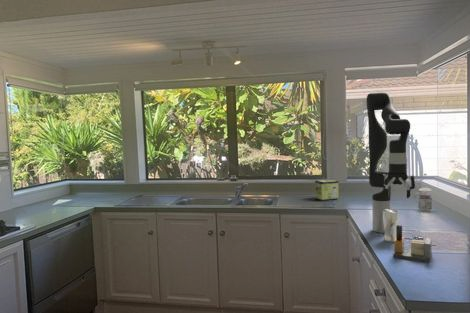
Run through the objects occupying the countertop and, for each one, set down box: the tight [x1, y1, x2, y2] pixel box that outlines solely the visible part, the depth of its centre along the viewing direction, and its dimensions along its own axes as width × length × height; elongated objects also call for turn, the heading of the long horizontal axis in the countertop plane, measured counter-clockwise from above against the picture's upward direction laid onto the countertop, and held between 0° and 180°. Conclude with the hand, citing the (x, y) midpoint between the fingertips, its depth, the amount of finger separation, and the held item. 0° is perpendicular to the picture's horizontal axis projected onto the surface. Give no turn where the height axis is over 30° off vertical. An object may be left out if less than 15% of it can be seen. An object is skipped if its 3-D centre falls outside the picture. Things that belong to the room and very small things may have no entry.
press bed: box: [392, 236, 432, 263], centre depth 159 cm, size 12×14×8 cm
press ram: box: [393, 224, 405, 253], centre depth 162 cm, size 7×3×11 cm, turn 148°
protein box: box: [314, 179, 339, 202], centre depth 295 cm, size 10×16×16 cm
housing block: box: [410, 238, 425, 255], centre depth 158 cm, size 5×5×5 cm
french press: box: [413, 173, 434, 213], centre depth 246 cm, size 10×12×25 cm
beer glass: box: [383, 208, 399, 243], centre depth 182 cm, size 7×7×15 cm
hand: (397, 197), depth 169 cm, fingers open, 8 cm apart
